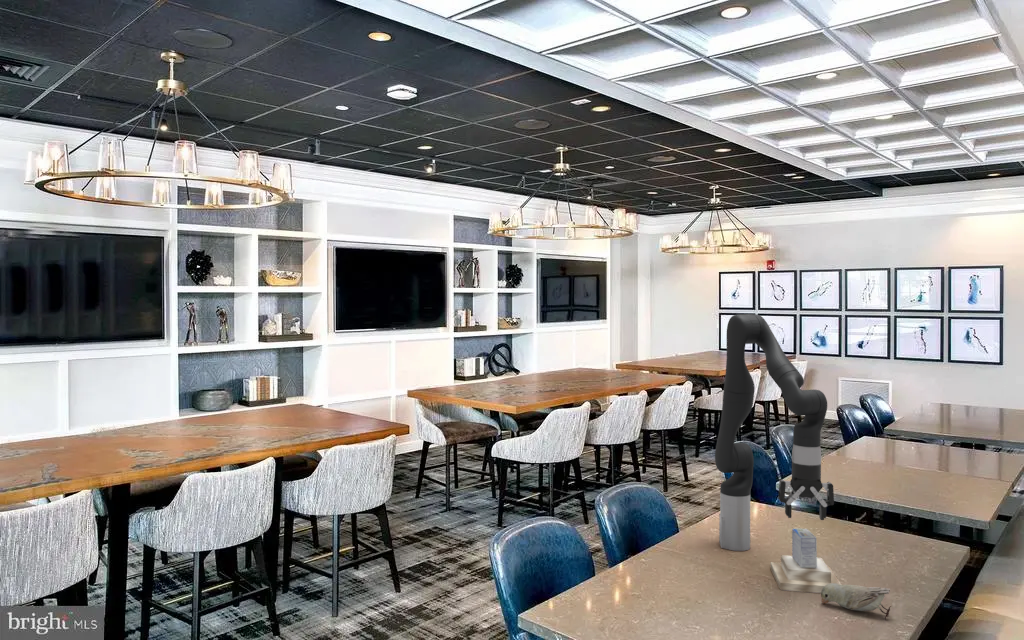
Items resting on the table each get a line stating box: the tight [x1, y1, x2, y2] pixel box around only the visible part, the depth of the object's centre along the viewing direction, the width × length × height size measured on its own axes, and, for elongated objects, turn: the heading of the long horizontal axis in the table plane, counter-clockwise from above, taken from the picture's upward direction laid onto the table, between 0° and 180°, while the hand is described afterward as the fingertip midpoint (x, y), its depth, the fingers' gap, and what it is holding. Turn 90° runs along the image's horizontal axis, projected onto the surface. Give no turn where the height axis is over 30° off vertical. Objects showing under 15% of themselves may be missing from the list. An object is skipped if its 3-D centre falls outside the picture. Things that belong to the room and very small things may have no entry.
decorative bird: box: [820, 583, 892, 621], centre depth 176 cm, size 5×16×8 cm, turn 57°
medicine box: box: [791, 528, 818, 568], centre depth 196 cm, size 8×4×9 cm, turn 174°
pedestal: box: [770, 555, 842, 594], centre depth 196 cm, size 16×16×5 cm
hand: (805, 518), depth 195 cm, fingers open, 8 cm apart
